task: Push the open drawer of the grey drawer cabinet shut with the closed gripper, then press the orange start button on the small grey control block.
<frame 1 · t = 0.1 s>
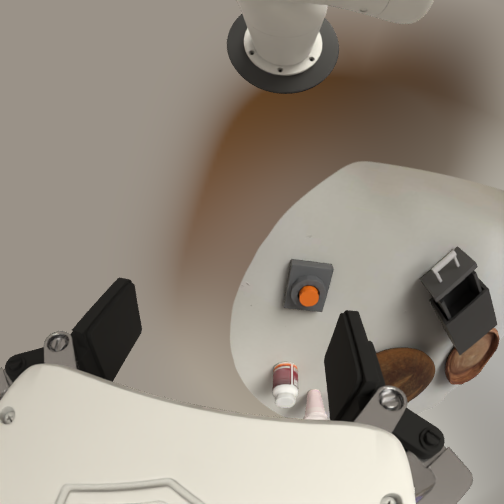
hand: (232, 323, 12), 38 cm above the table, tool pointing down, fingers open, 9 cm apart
start button: (308, 296, 50), point 4 cm above the table, slide at 0.1 cm
bread: (386, 376, 65), on the table
basket: (470, 349, 59), on the table
control block: (307, 283, 54), on the table
fryer drawer: (453, 285, 46), point 5 cm above the table, slide at 7.0 cm
pill bottle: (285, 368, 66), on the table
grey drawer cabinet: (456, 301, 53), on the table
smoothie: (313, 392, 69), on the table
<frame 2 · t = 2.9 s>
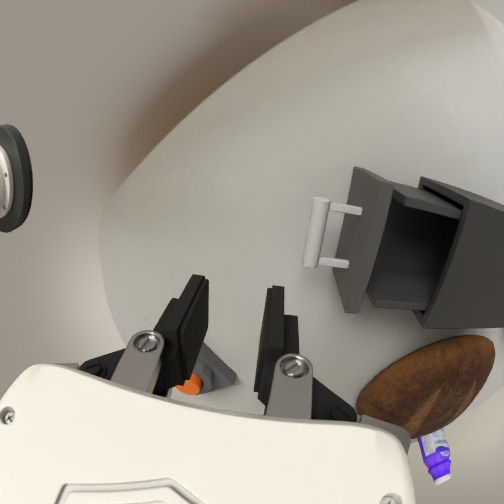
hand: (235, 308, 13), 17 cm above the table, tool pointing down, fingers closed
start button: (188, 383, 35), point 4 cm above the table, slide at 0.1 cm
bread: (425, 382, 38), on the table
control block: (196, 361, 39), on the table
fryer drawer: (396, 241, 23), point 5 cm above the table, slide at 7.0 cm
grey drawer cabinet: (453, 239, 27), on the table
bottle: (427, 424, 45), on the table
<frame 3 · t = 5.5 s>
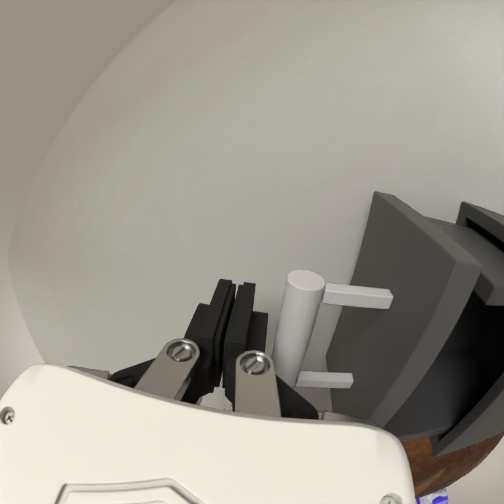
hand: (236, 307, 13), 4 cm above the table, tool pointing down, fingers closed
bread: (428, 443, 27), on the table
fryer drawer: (439, 333, 11), point 5 cm above the table, slide at 5.5 cm, touching gripper
grey drawer cabinet: (493, 294, 15), on the table
bottle: (426, 470, 34), on the table
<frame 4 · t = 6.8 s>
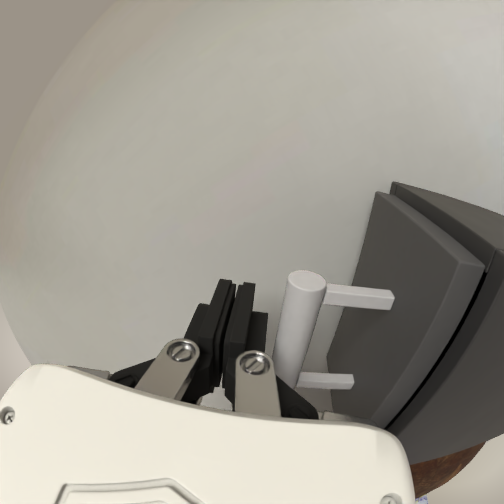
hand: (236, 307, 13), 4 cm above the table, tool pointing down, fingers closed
bread: (400, 449, 27), on the table
fryer drawer: (440, 334, 11), point 5 cm above the table, slide at 0.0 cm, touching grey drawer cabinet, gripper
grey drawer cabinet: (452, 291, 15), on the table
bottle: (407, 476, 34), on the table
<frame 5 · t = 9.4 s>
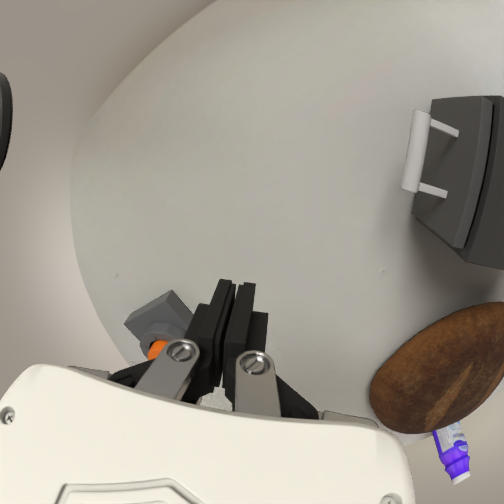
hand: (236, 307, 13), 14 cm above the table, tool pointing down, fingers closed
start button: (164, 355, 29), point 4 cm above the table, slide at 0.1 cm
bread: (446, 363, 32), on the table
control block: (175, 331, 33), on the table
fryer drawer: (482, 177, 17), point 5 cm above the table, slide at 0.0 cm
grey drawer cabinet: (478, 177, 21), on the table
bottle: (442, 416, 40), on the table
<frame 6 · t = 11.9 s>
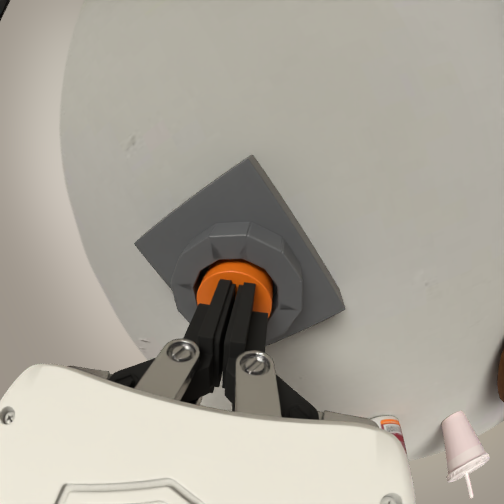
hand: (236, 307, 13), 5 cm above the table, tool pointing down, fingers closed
start button: (236, 294, 14), point 4 cm above the table, slide at -0.7 cm, touching gripper
control block: (245, 260, 17), on the table
pill bottle: (373, 425, 25), on the table
smoothie: (452, 417, 25), on the table
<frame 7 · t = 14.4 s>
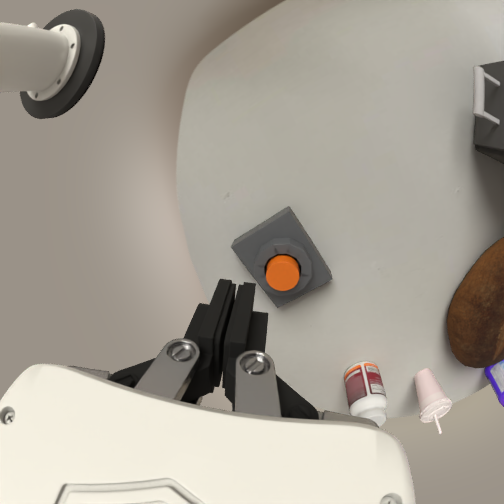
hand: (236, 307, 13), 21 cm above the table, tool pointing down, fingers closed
start button: (282, 272, 30), point 4 cm above the table, slide at 0.1 cm
bread: (501, 294, 32), on the table
control block: (283, 255, 34), on the table
pill bottle: (360, 370, 42), on the table
smoothie: (422, 374, 41), on the table
bottle: (493, 363, 39), on the table
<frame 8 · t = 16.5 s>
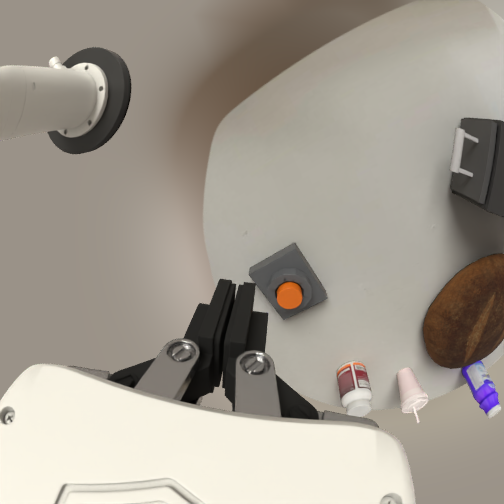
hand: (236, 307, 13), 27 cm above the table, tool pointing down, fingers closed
start button: (289, 295, 39), point 4 cm above the table, slide at 0.1 cm
bread: (473, 306, 42), on the table
control block: (289, 279, 43), on the table
fryer drawer: (490, 166, 26), point 5 cm above the table, slide at 0.0 cm
pill bottle: (350, 368, 51), on the table
grey drawer cabinet: (487, 167, 31), on the table
smoothie: (403, 372, 51), on the table
bottle: (470, 364, 49), on the table
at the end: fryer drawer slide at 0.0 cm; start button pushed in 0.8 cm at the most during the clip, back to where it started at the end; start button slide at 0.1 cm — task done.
